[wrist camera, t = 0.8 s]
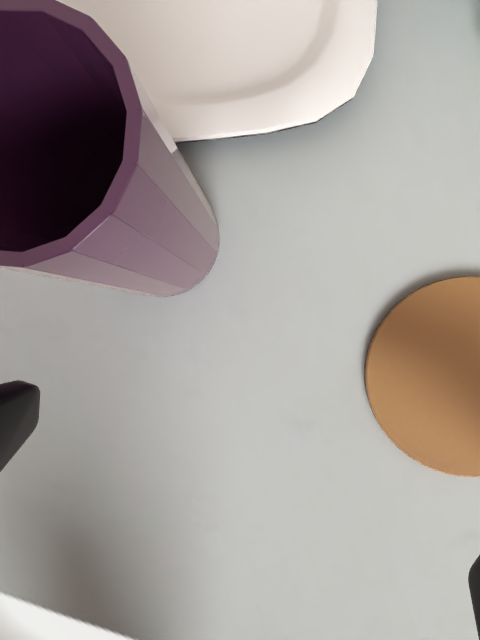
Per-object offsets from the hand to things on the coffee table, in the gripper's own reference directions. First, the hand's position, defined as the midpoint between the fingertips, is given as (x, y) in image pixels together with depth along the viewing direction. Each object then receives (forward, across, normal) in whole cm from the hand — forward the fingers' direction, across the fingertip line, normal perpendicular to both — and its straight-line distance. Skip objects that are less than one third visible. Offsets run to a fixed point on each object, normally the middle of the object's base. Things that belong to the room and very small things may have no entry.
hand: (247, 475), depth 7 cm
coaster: (+15, -11, +2) cm, 18 cm away
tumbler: (+16, +8, -1) cm, 18 cm away
